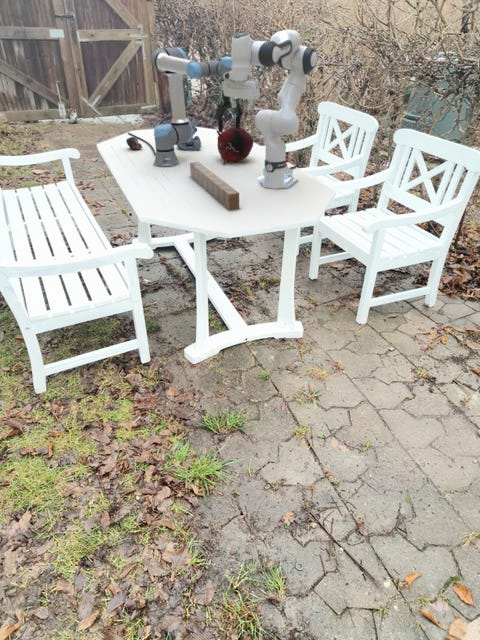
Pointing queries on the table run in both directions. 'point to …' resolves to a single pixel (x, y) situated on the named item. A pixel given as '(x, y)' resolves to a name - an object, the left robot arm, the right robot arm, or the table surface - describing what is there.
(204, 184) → the bar
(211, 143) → the table surface
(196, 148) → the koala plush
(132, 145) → the rock
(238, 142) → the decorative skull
